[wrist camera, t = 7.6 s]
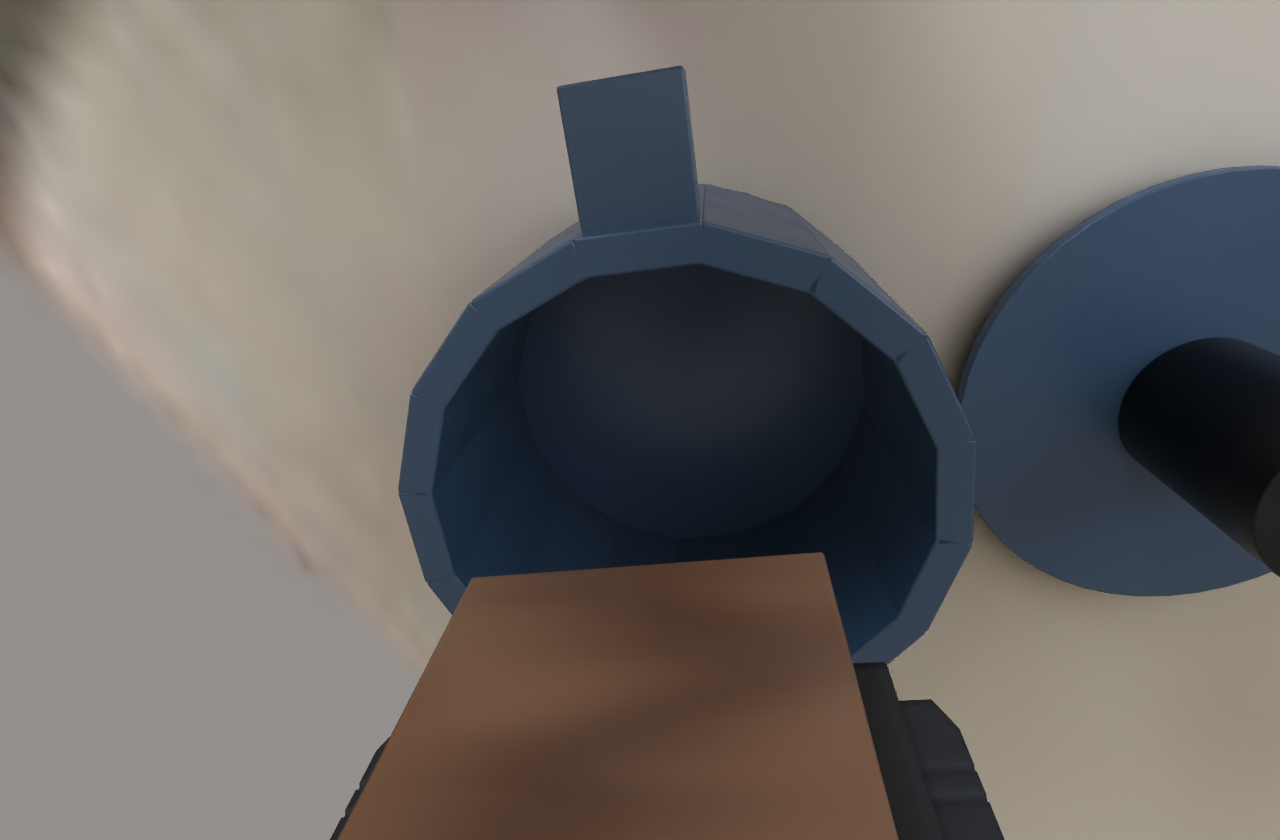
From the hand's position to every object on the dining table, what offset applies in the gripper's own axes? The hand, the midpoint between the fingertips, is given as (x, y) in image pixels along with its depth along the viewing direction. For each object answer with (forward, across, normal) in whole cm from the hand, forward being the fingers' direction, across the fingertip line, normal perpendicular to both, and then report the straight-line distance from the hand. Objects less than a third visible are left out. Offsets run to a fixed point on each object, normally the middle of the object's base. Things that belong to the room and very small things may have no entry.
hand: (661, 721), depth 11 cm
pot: (+14, 0, 0) cm, 14 cm away
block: (0, 0, 0) cm, 0 cm away
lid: (+14, -15, +2) cm, 20 cm away
